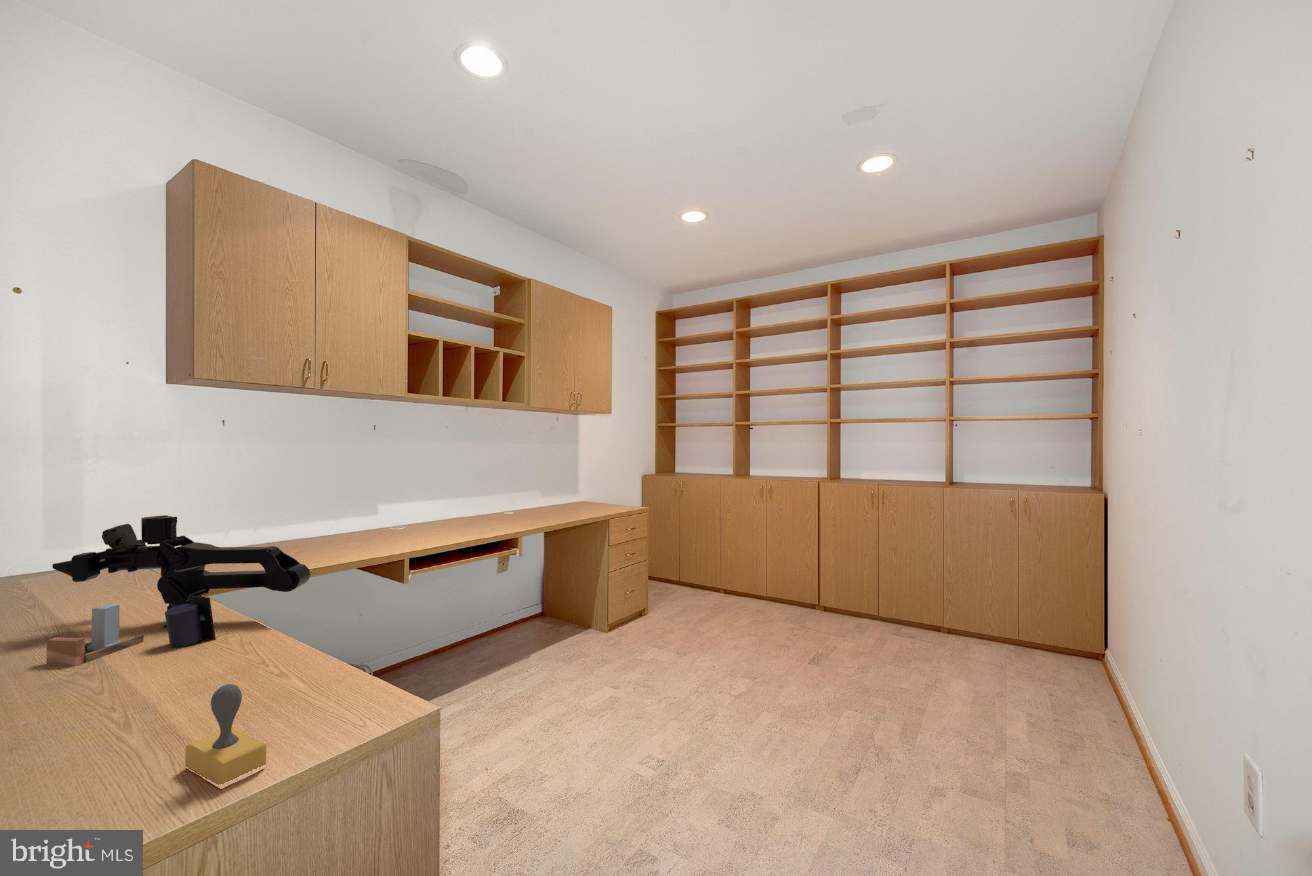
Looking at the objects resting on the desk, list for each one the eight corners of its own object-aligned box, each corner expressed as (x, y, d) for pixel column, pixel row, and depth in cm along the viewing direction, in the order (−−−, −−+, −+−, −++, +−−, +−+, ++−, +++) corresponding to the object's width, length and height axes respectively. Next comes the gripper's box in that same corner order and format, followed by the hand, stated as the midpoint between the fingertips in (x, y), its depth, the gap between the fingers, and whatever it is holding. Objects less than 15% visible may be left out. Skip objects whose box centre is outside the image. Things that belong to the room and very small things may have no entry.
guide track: (114, 640, 122) (114, 618, 122) (143, 641, 122) (143, 619, 122) (44, 664, 109) (45, 640, 109) (77, 665, 109) (77, 641, 109)
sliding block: (102, 645, 119) (102, 604, 119) (122, 645, 119) (123, 604, 119) (86, 650, 116) (87, 608, 116) (108, 651, 116) (109, 608, 116)
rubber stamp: (183, 769, 75) (185, 685, 76) (231, 749, 81) (233, 670, 81) (219, 791, 71) (220, 701, 71) (267, 768, 76) (268, 684, 76)
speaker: (207, 633, 127) (203, 591, 126) (216, 639, 124) (212, 596, 123) (165, 646, 121) (160, 602, 120) (173, 653, 118) (169, 608, 116)
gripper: (169, 519, 142) (101, 522, 139) (112, 533, 124) (32, 536, 121) (171, 560, 142) (102, 564, 139) (114, 580, 124) (34, 584, 121)
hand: (70, 561), depth 130 cm, fingers open, 9 cm apart
